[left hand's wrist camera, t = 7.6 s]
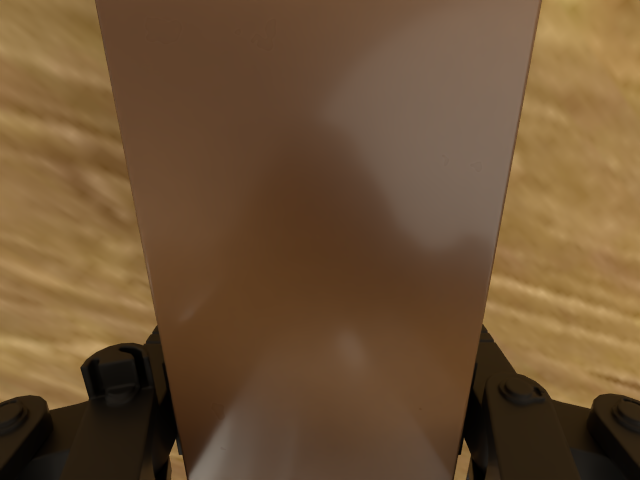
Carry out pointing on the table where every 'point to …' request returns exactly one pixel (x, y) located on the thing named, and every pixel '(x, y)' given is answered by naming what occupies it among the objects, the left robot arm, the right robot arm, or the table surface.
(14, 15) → the table surface
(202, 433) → the beam
